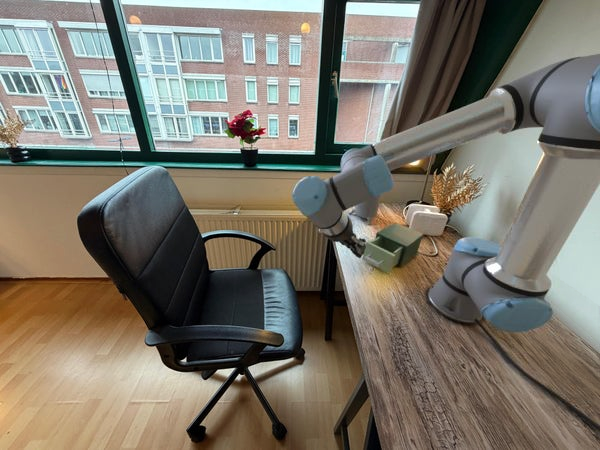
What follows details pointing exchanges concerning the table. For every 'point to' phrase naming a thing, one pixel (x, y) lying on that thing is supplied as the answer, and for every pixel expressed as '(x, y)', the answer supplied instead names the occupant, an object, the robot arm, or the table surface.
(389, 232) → the cabinet
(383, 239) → the drawer
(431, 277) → the table surface
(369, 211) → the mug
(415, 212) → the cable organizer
